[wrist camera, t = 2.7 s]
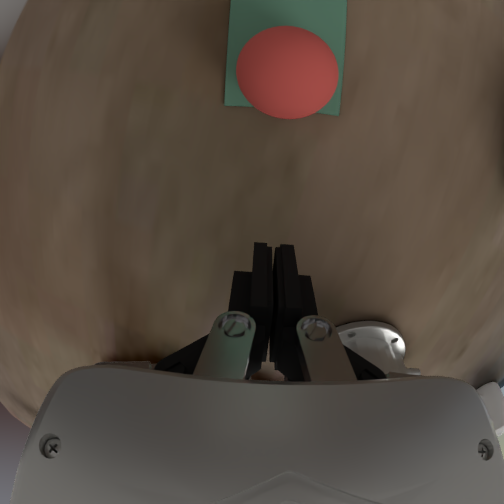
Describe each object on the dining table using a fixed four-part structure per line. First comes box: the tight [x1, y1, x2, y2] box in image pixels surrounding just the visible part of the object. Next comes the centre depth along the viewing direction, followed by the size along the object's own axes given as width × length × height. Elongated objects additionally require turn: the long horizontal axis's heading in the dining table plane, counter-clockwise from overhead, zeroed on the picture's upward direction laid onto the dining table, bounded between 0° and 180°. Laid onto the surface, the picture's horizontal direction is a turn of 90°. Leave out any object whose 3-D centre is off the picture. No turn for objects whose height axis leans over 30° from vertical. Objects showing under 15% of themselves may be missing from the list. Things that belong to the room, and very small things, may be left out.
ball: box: [236, 26, 339, 119], centre depth 15 cm, size 6×6×6 cm
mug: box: [477, 382, 504, 437], centre depth 33 cm, size 12×8×10 cm
